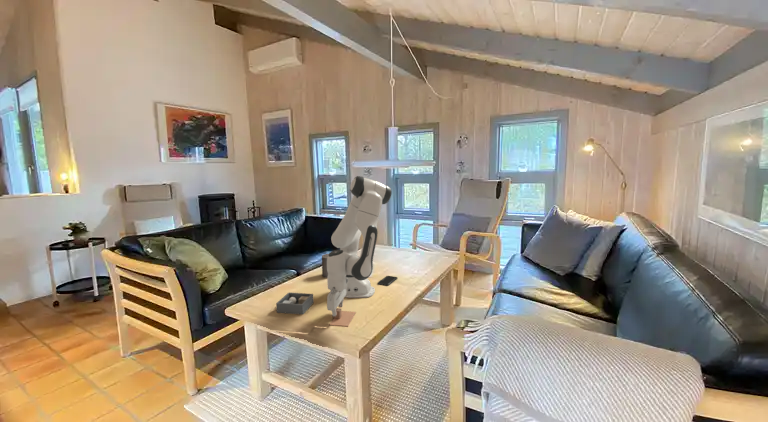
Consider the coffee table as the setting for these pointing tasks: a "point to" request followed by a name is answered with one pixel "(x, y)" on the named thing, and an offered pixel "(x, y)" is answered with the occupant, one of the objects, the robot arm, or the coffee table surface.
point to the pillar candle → (324, 265)
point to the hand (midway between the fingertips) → (337, 311)
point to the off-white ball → (293, 300)
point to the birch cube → (302, 299)
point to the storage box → (295, 307)
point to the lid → (342, 318)
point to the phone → (387, 280)
